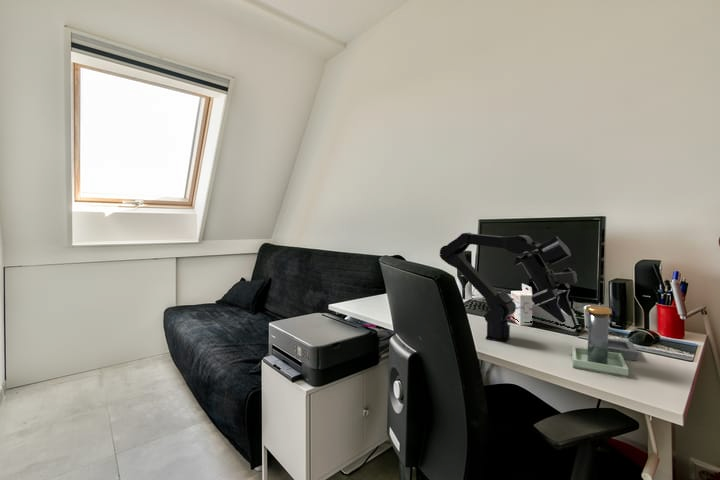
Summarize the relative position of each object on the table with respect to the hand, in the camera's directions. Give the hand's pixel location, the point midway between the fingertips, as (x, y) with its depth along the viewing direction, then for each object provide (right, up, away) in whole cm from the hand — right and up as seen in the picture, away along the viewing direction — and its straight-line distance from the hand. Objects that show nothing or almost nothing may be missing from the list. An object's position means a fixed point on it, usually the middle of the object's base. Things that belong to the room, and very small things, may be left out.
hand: (567, 318), depth 98 cm
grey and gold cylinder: (+4, -10, -7) cm, 13 cm away
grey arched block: (+12, -10, +28) cm, 32 cm away
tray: (+4, -11, -7) cm, 13 cm away
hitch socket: (+15, -10, +2) cm, 18 cm away
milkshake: (+22, -10, +22) cm, 32 cm away
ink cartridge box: (+2, -9, +33) cm, 34 cm away
